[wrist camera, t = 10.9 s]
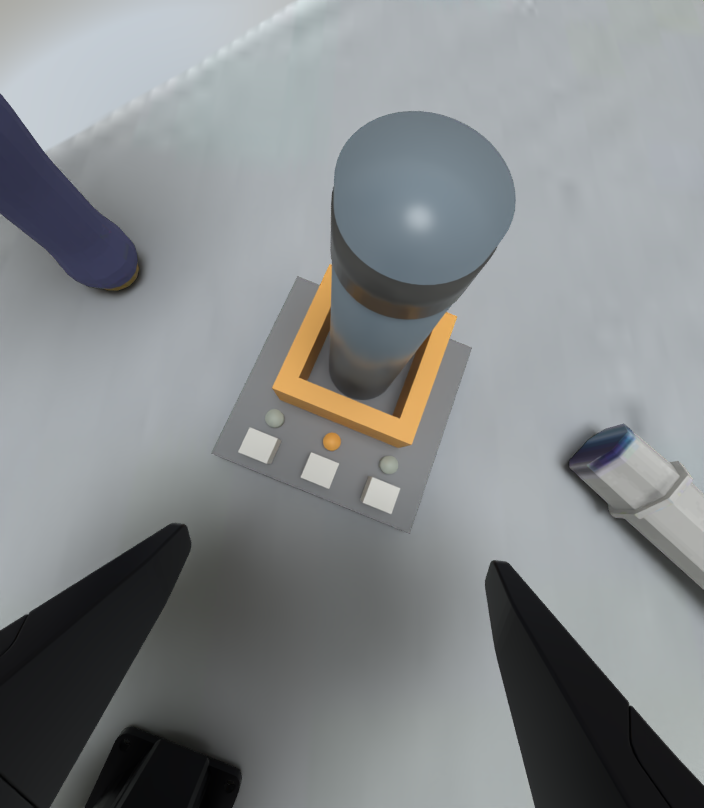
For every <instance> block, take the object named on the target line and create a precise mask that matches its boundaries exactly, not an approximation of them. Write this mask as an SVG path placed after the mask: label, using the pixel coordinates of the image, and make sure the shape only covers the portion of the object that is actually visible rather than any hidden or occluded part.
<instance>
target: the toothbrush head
mask: <svg viewBox="0 0 704 808" xmlns="http://www.w3.org/2000/svg"><path fill="white" fill-rule="evenodd" d="M569 468H570V469H571V470H573V471H574V472H575V473H576V474H577V475H578V476H579V477H580V478H581V479H582V480H583V481H584V482H585V483H587V484H588V485H589V486H590V487H591V488H592V489H593V490H594V491H595V492H596V493H597V494H598V495H599V496H601V497H602V498H603V499H604V500H605V501H606V502H607V504H608V509H609V513H610V514H611V515H612V516H613V517H614V518H624V519H626V520H627V521H628V522H629V523H630V524H631V525H632V526H633V527H634V528H636V529H637V530H638V531H639V532H640V533H641V534H642V535H643V536H644V537H646V538H647V539H648V540H649V541H650V542H651V543H652V544H653V545H655V546H656V547H657V548H658V549H659V550H660V551H661V552H662V553H663V554H665V555H666V556H667V557H668V558H669V559H670V560H671V561H672V562H673V563H675V564H676V565H677V566H678V567H679V568H680V569H681V570H682V571H683V572H685V573H686V574H687V575H688V576H689V577H690V578H691V579H692V580H693V581H695V582H696V583H697V584H698V585H699V586H700V587H701V588H702V589H703V590H704V494H703V493H702V492H701V491H700V490H699V489H698V488H697V487H696V486H695V485H694V484H693V483H692V481H693V480H694V479H693V478H692V476H691V475H690V474H689V472H688V471H687V470H686V468H685V467H684V465H682V464H681V463H680V462H679V461H676V462H668V461H667V460H666V459H665V458H664V457H663V456H661V455H660V454H659V453H658V452H657V451H655V450H654V449H653V448H652V447H651V446H650V445H648V444H647V443H646V442H645V441H644V440H643V439H641V438H640V437H639V436H638V435H637V434H636V433H634V432H633V431H632V430H631V429H630V428H628V427H627V426H626V425H625V424H621V425H617V426H614V427H610V428H607V429H604V430H603V431H601V432H600V433H598V434H596V435H595V436H593V437H592V438H590V439H589V440H588V441H587V442H586V443H585V444H584V445H583V446H582V447H581V448H580V449H579V450H578V452H577V453H576V454H575V455H574V456H573V457H572V458H571V459H570V460H569Z"/></svg>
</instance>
